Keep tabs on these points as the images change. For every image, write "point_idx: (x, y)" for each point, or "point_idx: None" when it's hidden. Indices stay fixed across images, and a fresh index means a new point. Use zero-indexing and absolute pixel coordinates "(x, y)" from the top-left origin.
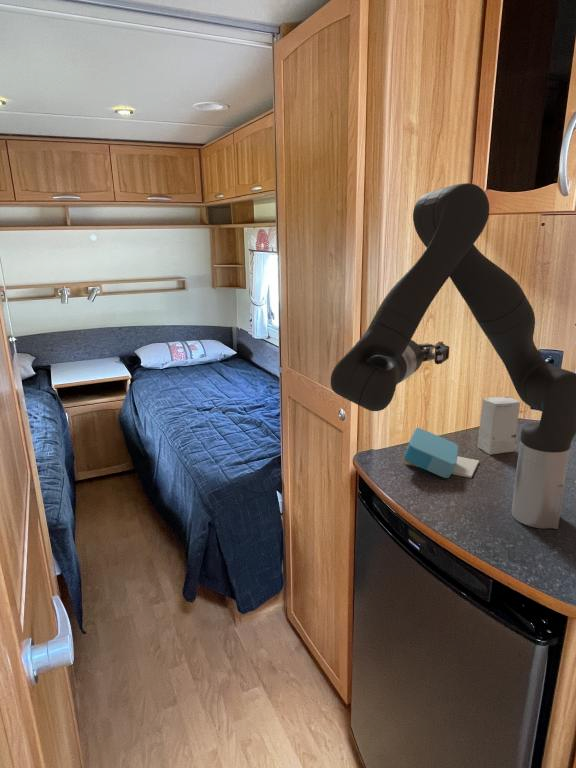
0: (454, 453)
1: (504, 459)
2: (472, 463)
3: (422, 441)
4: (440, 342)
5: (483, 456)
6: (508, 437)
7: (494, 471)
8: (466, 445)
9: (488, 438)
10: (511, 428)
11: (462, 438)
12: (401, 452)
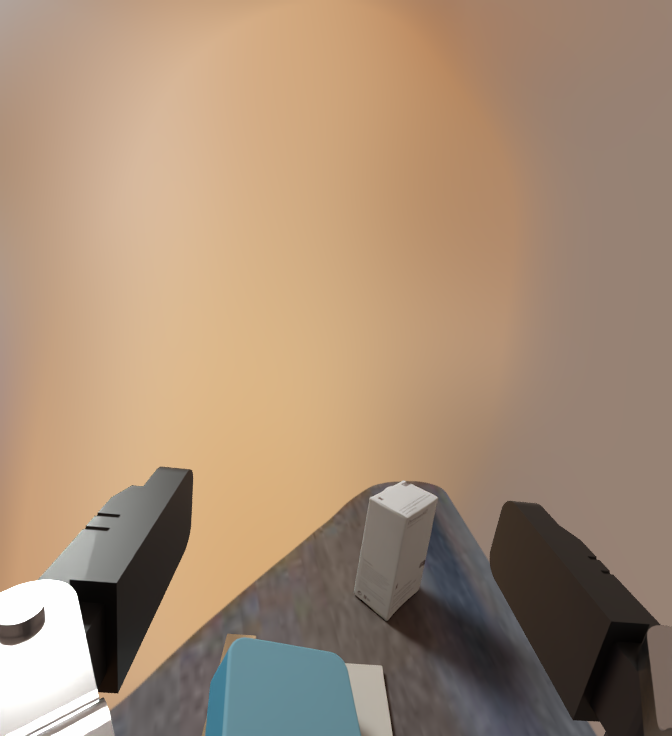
0: (351, 722)
1: (418, 630)
2: (374, 690)
3: (258, 727)
4: (550, 526)
5: (378, 632)
6: (415, 570)
7: (428, 706)
8: (331, 592)
9: (385, 587)
10: (421, 552)
11: (315, 565)
12: (185, 691)
